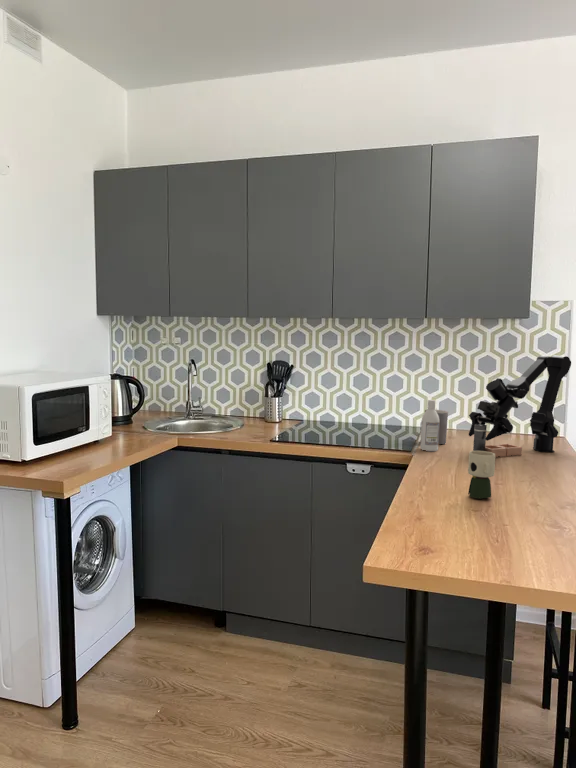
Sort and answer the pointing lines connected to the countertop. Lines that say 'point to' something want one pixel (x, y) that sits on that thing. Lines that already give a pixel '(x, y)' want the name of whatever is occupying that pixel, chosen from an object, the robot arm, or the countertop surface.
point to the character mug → (481, 473)
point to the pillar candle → (442, 425)
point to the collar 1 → (496, 450)
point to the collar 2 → (511, 449)
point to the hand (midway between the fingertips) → (477, 437)
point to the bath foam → (430, 428)
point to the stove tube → (479, 437)
